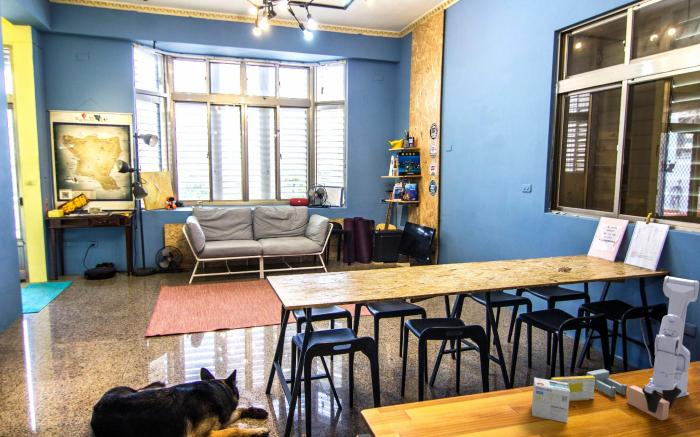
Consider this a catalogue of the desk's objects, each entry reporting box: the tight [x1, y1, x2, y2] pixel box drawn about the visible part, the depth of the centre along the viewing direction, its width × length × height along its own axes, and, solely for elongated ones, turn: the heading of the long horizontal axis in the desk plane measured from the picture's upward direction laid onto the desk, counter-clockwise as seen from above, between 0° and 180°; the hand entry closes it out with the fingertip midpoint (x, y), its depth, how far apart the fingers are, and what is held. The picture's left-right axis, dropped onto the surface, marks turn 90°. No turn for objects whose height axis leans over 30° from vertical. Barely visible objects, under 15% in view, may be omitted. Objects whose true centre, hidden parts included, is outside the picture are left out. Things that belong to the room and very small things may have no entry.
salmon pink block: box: [626, 385, 670, 421], centre depth 153 cm, size 3×12×6 cm, turn 22°
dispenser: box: [586, 368, 628, 398], centre depth 167 cm, size 9×10×5 cm
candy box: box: [550, 375, 595, 402], centre depth 158 cm, size 16×2×8 cm, turn 99°
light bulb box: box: [531, 376, 570, 424], centre depth 147 cm, size 11×7×11 cm, turn 71°
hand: (659, 409), depth 149 cm, fingers open, 7 cm apart
